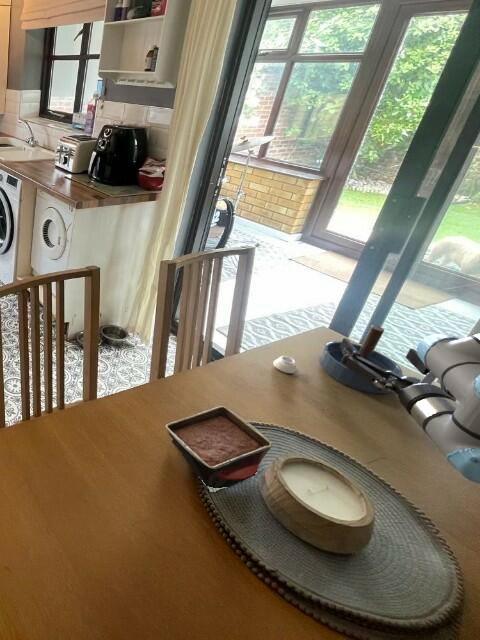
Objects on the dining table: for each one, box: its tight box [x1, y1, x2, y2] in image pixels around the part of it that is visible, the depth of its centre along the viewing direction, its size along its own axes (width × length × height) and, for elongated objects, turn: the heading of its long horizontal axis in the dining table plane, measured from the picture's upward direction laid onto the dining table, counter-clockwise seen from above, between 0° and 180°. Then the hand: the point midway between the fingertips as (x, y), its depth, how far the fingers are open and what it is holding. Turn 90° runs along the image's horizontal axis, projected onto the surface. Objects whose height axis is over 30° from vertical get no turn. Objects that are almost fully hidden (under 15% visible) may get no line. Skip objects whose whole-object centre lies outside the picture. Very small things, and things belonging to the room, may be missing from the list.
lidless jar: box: [272, 355, 297, 374], centre depth 110 cm, size 5×3×5 cm
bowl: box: [318, 341, 403, 394], centre depth 107 cm, size 15×15×5 cm
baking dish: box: [164, 405, 273, 488], centre depth 83 cm, size 14×18×10 cm
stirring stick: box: [359, 325, 385, 360], centre depth 105 cm, size 2×2×14 cm
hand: (375, 347), depth 102 cm, fingers open, 13 cm apart
